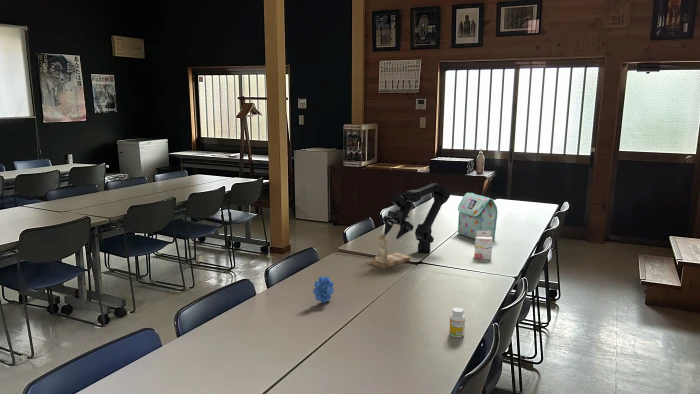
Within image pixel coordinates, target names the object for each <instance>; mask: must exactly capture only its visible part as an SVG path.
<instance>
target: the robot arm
mask: <svg viewBox="0 0 700 394" xmlns="http://www.w3.org/2000/svg"><path fill="white" fill-rule="evenodd" d="M429 194H433V202H432V205H431V207H430V208H429V211H428V212H427V214H426V217H425V219H424V221H423V223H418V224H417V227H416V228H415V232H414V235H415V239H416V241H418V243H417V251H418V252H417V253H420V254H431V244H432V243H433V242H434V240H435V238H434V236H433V235H432V226H433V224H434V221H435V220H436V218H437V216H438V214H439V212H440V210H441V208H442V205H445V203H447V202H448V200H450V197H451V193H450V190H449V189H446V188H445V187H443V186H441V185H440V184H439V183H436V182H435V183H434V182H431V183H430V184H428V185H426V186H423V187H420V188H417V189H411V190H406V191H405V192H404V193H402V192H401V191H397V193H395V194H393V195H392V196H391V198H390V201H391V202H392V203H393V204H394V205H395V206H396V207H397V208H399V209H398V210H395V211H392V210H388V212H387V215H383V218H382V221H383V223H384V231H383V234H385V236H386V237H387V235H388V233H390V232H391V229H392V228H393V227H394V225H397V226H399V230H398V232H397V235H396V237H395V239H396V240H399V239H400V238H402V236H404V235H405V234H407V233H409V232H413V230H414V225H413V223H411V222H409V221H407V219H409V217H410V216H409V215H410V212H411V210H415V209H416V208H415V203H417V202H419V201H421V199H422V198H423V197H425V196H427V195H429Z"/></svg>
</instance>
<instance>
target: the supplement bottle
mask: <svg viewBox="0 0 700 394" xmlns="http://www.w3.org/2000/svg"><path fill="white" fill-rule="evenodd" d="M451 311H452V313H451V314H450V315H449V335H450V337H452V338H463V337H464V336H465V327H466V325H465V323H466V316H465V315H464V308H461V307H453V308H452V310H451ZM462 336H463V337H462Z"/></svg>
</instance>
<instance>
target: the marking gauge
mask: <svg viewBox="0 0 700 394" xmlns="http://www.w3.org/2000/svg"><path fill="white" fill-rule="evenodd" d="M377 252H378V255H376V256H375V257H374V259H375V261H378V262H381V263H386V262H389V261H390V257H387V255H388V236H387V235H386V236H385V234H384V233H382V234H380V236H378V251H377Z"/></svg>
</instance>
